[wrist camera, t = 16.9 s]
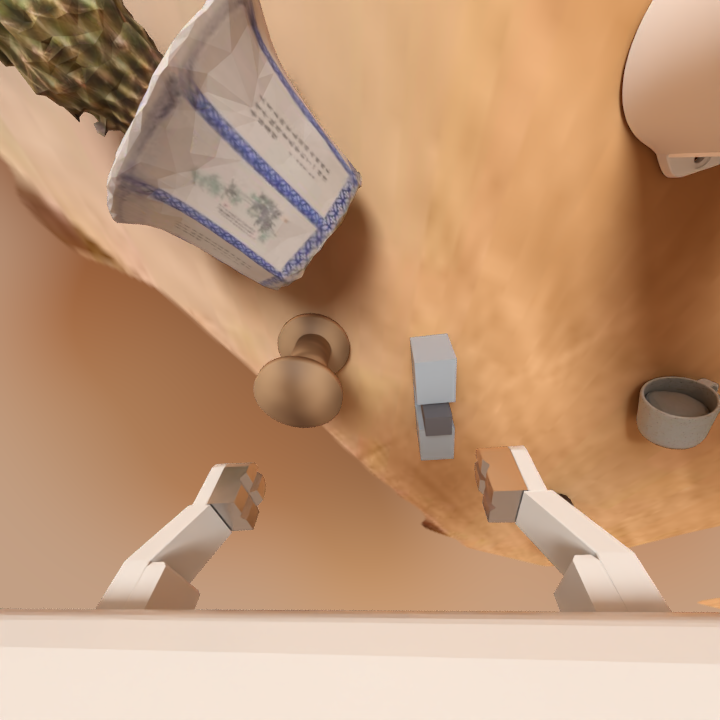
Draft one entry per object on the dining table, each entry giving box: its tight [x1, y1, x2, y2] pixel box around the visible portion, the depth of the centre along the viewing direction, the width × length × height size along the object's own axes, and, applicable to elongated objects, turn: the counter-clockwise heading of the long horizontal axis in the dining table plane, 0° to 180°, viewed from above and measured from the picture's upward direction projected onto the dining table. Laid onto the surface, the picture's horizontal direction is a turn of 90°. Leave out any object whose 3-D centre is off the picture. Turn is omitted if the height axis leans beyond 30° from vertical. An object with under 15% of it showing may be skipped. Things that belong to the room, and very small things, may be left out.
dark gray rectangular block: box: [421, 402, 452, 436], centre depth 43 cm, size 4×4×7 cm
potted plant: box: [0, 0, 362, 290], centre depth 21 cm, size 18×18×30 cm
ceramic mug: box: [636, 376, 720, 449], centre depth 42 cm, size 11×8×8 cm
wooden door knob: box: [253, 313, 349, 428], centre depth 38 cm, size 10×10×11 cm
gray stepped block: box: [410, 334, 457, 460], centre depth 44 cm, size 5×19×6 cm, turn 9°
